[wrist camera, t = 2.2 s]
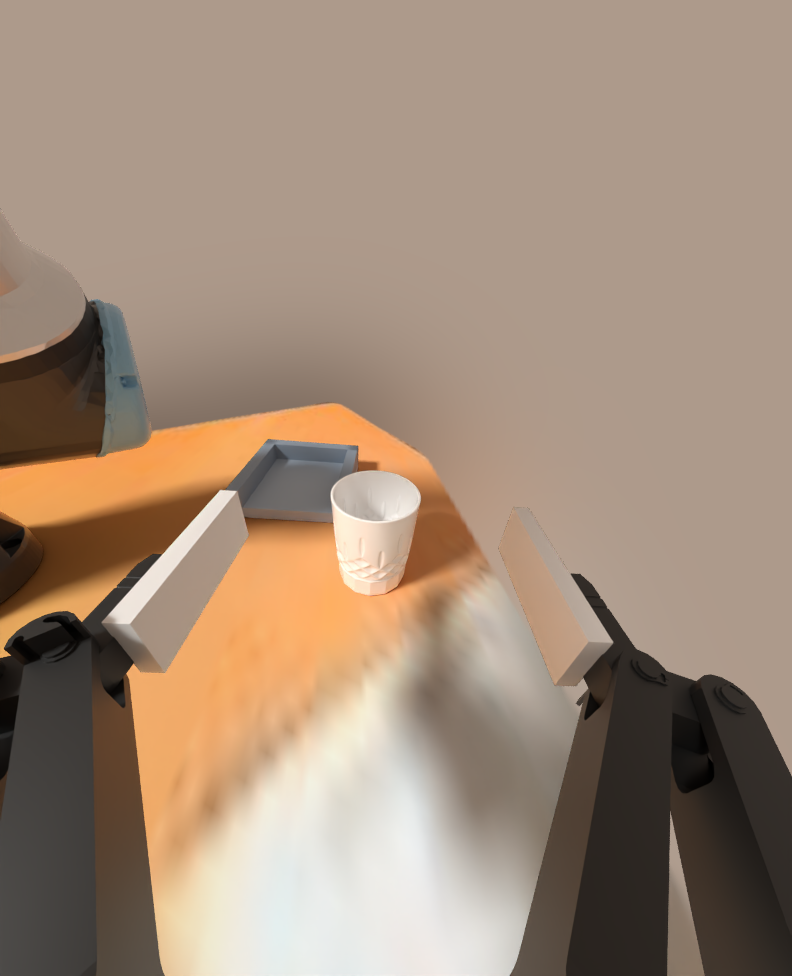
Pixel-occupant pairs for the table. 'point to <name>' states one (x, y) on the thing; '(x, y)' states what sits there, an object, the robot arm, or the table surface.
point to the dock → (293, 480)
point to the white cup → (374, 528)
